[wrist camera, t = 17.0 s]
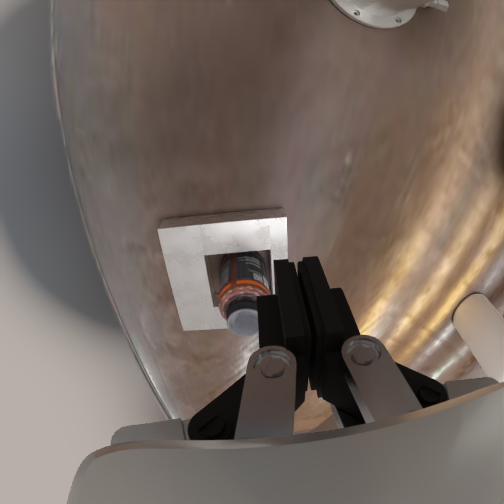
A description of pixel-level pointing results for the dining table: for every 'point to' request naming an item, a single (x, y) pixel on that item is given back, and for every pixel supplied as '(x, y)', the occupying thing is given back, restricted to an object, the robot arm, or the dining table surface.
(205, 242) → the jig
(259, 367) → the robot arm
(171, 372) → the dining table surface
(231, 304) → the supplement bottle
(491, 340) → the alcohol
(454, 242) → the dining table surface
